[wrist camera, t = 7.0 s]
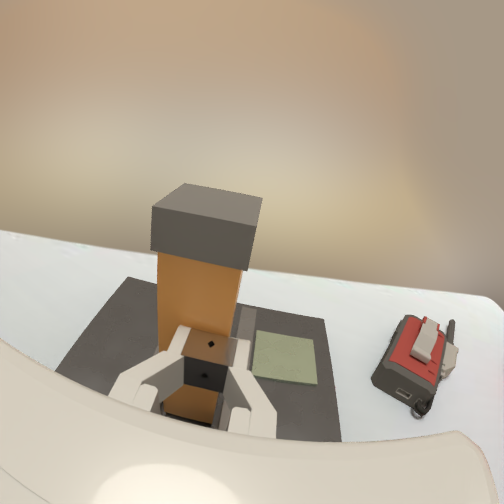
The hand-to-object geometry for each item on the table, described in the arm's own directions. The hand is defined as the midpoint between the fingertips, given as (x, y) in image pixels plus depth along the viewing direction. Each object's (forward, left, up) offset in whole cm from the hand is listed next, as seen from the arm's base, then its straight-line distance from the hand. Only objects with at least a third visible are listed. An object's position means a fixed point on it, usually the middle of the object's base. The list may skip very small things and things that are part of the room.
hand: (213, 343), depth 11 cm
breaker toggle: (-1, +1, -7) cm, 8 cm away
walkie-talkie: (+22, +12, -10) cm, 27 cm away
